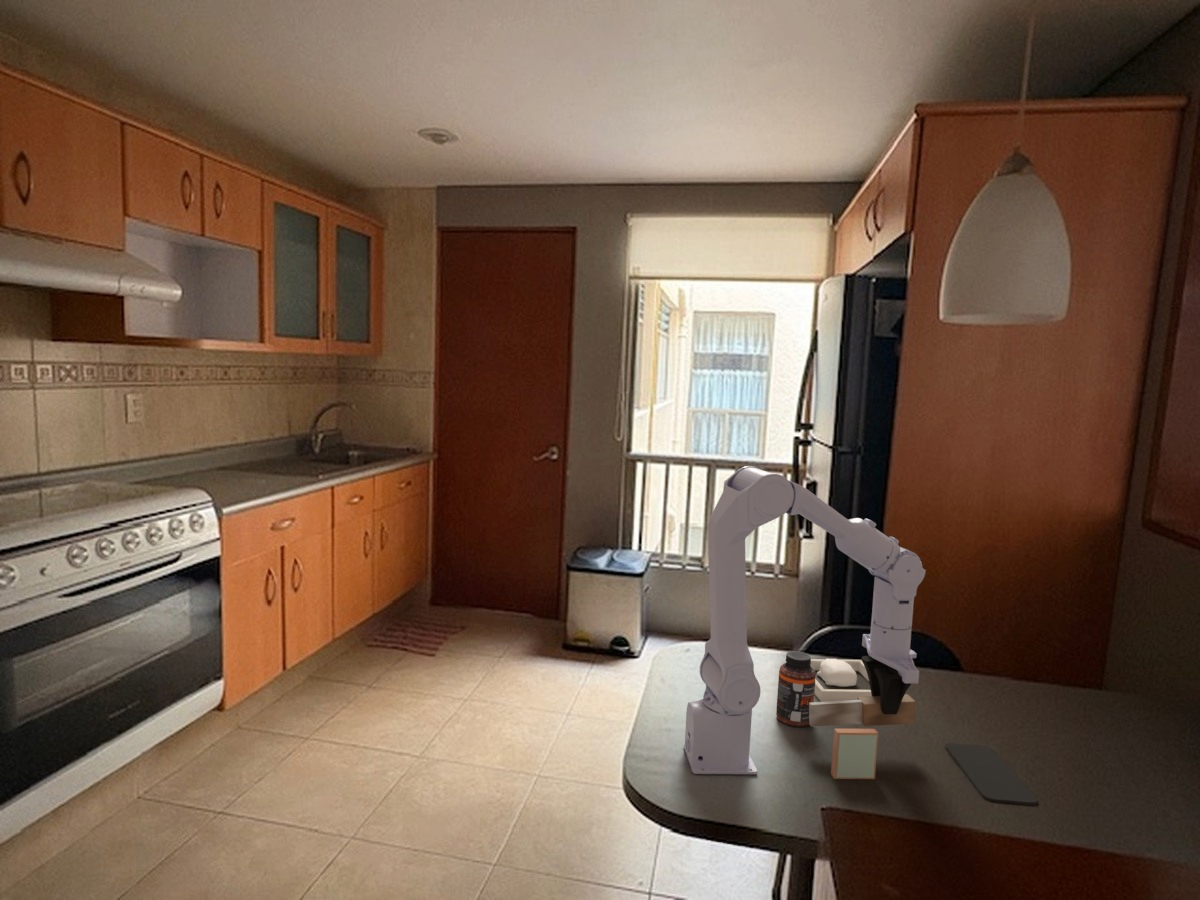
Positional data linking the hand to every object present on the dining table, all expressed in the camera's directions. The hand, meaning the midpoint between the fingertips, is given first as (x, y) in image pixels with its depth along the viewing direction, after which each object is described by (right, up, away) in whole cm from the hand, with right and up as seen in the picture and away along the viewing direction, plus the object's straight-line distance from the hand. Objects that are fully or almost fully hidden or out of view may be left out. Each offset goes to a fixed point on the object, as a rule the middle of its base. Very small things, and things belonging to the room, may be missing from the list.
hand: (884, 708), depth 108 cm
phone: (+13, -9, -4) cm, 17 cm away
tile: (-7, -7, -7) cm, 12 cm away
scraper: (-4, -2, 0) cm, 4 cm away
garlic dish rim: (+2, -5, +25) cm, 25 cm away
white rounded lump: (+2, -5, +27) cm, 28 cm away
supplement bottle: (-11, -6, +10) cm, 16 cm away
